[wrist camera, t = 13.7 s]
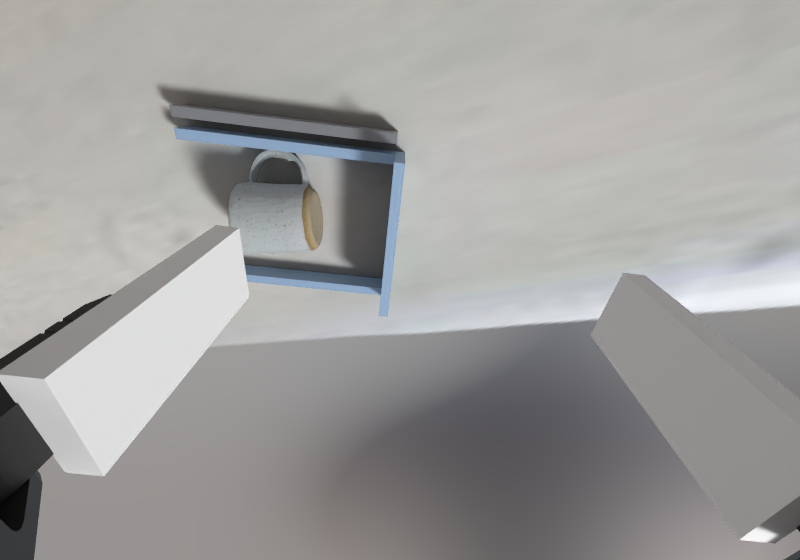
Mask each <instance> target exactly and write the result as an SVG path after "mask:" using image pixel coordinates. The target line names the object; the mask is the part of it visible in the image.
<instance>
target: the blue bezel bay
mask: <svg viewBox="0 0 800 560" xmlns="http://www.w3.org/2000/svg"><path fill="white" fill-rule="evenodd" d="M174 130H175V135H176V139H182V140H191V141H199V142H207V143H216V144H224V145H232V146H241V147H249V148H257V149H266V150H274V151H283V152H291V153H299V154H308V155H316V156H324V157H333V158H341V159H349V160H358V161H366V162H375V163H383V164H391V165H394V168H393V178H392V188H391V199H390V209H389V219H388V229H387V239H386V249H385V259H384V269H383V279H380V278H370V277H361V276H351V275H341V274H332V273H322V272H312V271H303V270H293V269H283V268H273V267H264V266H254V265H245V271H246V278H247V282H256V283H266V284H276V285H286V286H295V287H305V288H315V289H325V290H335V291H345V292H355V293H365V294H375V295H381V300H380V310H379V316H386V317H388V308H389V299H390V291H391V282H392V273H393V265H394V256H395V247H396V239H397V230H398V221H399V212H400V204H401V195H402V186H403V178H404V169H405V152H399V151H391V150H382V149H374V148H366V147H358V146H349V145H341V144H333V143H325V142H317V141H308V140H300V139H292V138H284V137H275V136H267V135H259V134H251V133H243V132H234V131H226V130H218V129H210V128H201V127H193V126H185V127H177V128H174Z"/></svg>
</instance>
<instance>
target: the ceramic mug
mask: <svg viewBox="0 0 800 560" xmlns="http://www.w3.org/2000/svg"><path fill="white" fill-rule="evenodd" d="M271 157H274V158H283V159H287V160H288V161H295V162H296V163H297V165H298V166H299V168H300V171H301V176H302V184H272V183H257V176H258V172H259V169H260V167H261V165H262V164H263V162H264V161H265V160H266V159H268V158H271ZM248 180H249V181H248V182H242V183H238V184H236V185H235V186H234V188H233V189H232V191H231V194H230V198H229V203H228V220H229V226H230V227H235V228H239V230H240V237H241V243H242V250H243V253H244V254H247V255H254V254H273V253H290V252H306V251H311V250H314V249H316V248H318V246H319V245H320V243H321V240H322V234H323V216H322V207H321V202H320V199H319V196H318V194H317V192H316V191H315V190H314V189H313V188H312V187H309V186H308V176H307V172H306V169H305V166H304V165H303V163H302V162H301V160H300V159H299V158H298V157H297V156H295V155H294V154H293V153H291V152H283V151H274V150H265V151H263V152H261V153H260V154H259V155H258V156H257V157H256V158H255V160H254V162H253V164H252V166H251V169H250V173H249V179H248Z"/></svg>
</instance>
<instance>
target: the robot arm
mask: <svg viewBox="0 0 800 560" xmlns="http://www.w3.org/2000/svg"><path fill="white" fill-rule="evenodd" d="M248 298H249V291H248V285H247V278H246V271H245V264H244V257H243V250H242V243H241V237H240V230H239V228H235V227H227V226H218V225H216V226H214V227H213V228H211V229H210V230H208V231H207V232H205V233H204V234H202V235H201V236H199V237H198V238H197V239H195V240H194V241H192V242H191V243H189V244H188V245H186V246H185V247H183V248H182V249H180V250H179V251H177V252H176V253H174V254H173V255H171V256H170V257H168V258H167V259H165V260H164V261H162V262H161V263H159V264H158V265H156V266H155V267H153V268H152V269H150V270H149V271H147V272H146V273H144V274H143V275H141V276H140V277H138V278H137V279H135V280H134V281H132V282H131V283H129V284H128V285H126V286H125V287H123V288H122V289H120V290H119V291H118V292H116V293H115V294H113V295H108V296H105V297H103V298H100V299H98V300H95V301H93V302H90V303H88V304H85V305H83V306H82V307H80V308H79V309H77V310H76V311H74V312H73V313H71V314H69V315H68V316H66V317H65V318H63V321H62V322H57V323H55V324H54V325H52V326H51V327H49V328H48V329H46V330H45V333H44V334H38V335H37V336H35V337H34V338H32V339H31V340H29V341H27V342H26V343H24V344H23V345H21V346H20V347H18V348H17V349H15V350H13V351H12V352H10V353H9V354H7V355H6V356H4V357H3V358H1V359H0V560H34V553H35V544H36V535H37V525H38V517H39V508H40V500H41V491H42V480H41V476H40V473H39V472H38V471H37V470H38V469H39V468H40V467H41V466H42V465H43V464H44V463H45V462H46V461H47V460H48V459H49V458H50V457H51V456H52V455H53V456H54V457H55V459H56V460H57V462H58V463H59V464H60V466H61V467H62V469H63V470H64V471H65V472H66V473H76V474H86V475H96V476H105V474H106V473H107V472H108V471H109V470H110V468H111V467H112V465H113V464H114V463H115V462H116V461H117V460H118V458H119V457H120V456H121V455H122V453H123V452H124V451H125V450H126V448H127V447H128V446H129V445H130V443H131V442H132V441H133V440H134V439H135V437H136V436H137V435H138V434H139V432H140V431H141V430H142V429H143V427H144V426H145V425H146V424H147V423H148V421H149V420H150V419H151V418H152V416H153V415H154V414H155V412H156V411H157V410H158V409H159V408H160V406H161V405H162V404H163V402H164V401H165V400H166V399H167V398H168V396H169V395H170V394H171V393H172V391H173V390H174V389H175V388H176V387H177V385H178V384H179V383H180V382H181V380H182V379H183V378H184V377H185V375H186V374H187V373H188V372H189V371H190V369H191V368H192V367H193V366H194V364H195V363H196V362H197V361H198V359H199V358H200V357H201V356H202V354H203V353H204V352H205V351H206V350H207V348H208V347H209V346H210V345H211V343H212V342H213V341H214V340H215V338H216V337H217V336H218V335H219V333H220V332H221V331H222V330H223V329H224V327H225V326H226V325H227V324H228V322H229V321H230V320H231V319H232V317H233V316H234V315H235V314H236V312H237V311H238V310H239V309H240V307H241V306H242V305H243V304H244V303H245V301H246V300H247V299H248ZM591 336H592V338H593V339H594V340H595V342H596V343H597V344H598V346H599V347H600V349H601V350H602V351H603V353H604V354H605V355H606V357H607V358H608V359H609V361H610V362H611V364H612V365H613V366H614V368H615V369H616V371H617V372H618V373H619V375H620V376H621V378H622V379H623V380H624V381H625V383H626V384H627V386H628V387H629V389H630V390H631V391H632V393H633V394H634V395H635V397H636V398H637V400H638V401H639V402H640V404H641V405H642V406H643V408H644V409H645V411H646V412H647V413H648V415H649V416H650V417H651V419H652V420H653V422H654V423H655V424H656V425H657V427H658V429H659V430H660V431H661V433H662V434H663V435H664V437H665V438H666V439H667V441H668V442H669V444H670V445H671V446H672V448H673V449H674V450H675V452H676V453H677V455H678V456H679V457H680V459H681V460H682V462H683V463H684V464H685V466H686V467H687V468H688V470H689V471H690V472H691V474H692V475H693V477H694V478H695V479H696V481H697V482H698V484H699V485H700V486H701V488H702V489H703V491H704V492H705V493H706V495H707V496H708V497H709V499H710V500H711V501H712V503H713V504H714V506H715V507H716V508H717V510H718V511H719V513H720V514H721V515H722V517H723V518H724V519H725V521H726V522H727V523H728V525H729V526H730V528H731V529H732V530H733V532H734V533H735V535H736V536H737V537H738V539H739V540H746V541H756V542H766V543H776V542H778V541H779V540H780V539H782V538H783V537H785V536H786V535H788V534H789V533H791V532H792V531H794V530H795V529H798V530H799V531H800V399H799V398H798V397H797V396H796V395H794V394H793V393H792V392H791V391H789V390H788V389H787V388H785V387H784V386H783V385H782V384H781V383H779V382H778V381H777V380H776V379H774V378H773V377H772V376H771V375H769V374H768V373H767V372H766V371H764V370H763V369H762V368H760V367H759V366H758V365H757V364H755V363H754V362H753V361H752V360H750V359H749V358H748V357H747V356H745V355H744V354H743V353H741V352H740V351H739V350H738V349H737V348H735V347H734V346H733V345H732V344H730V343H729V342H728V341H726V340H725V339H724V338H723V337H721V336H720V335H719V334H718V333H716V332H715V331H714V330H713V329H711V328H710V327H709V326H708V325H706V324H705V323H704V322H703V321H701V320H700V319H699V318H698V317H696V316H695V315H694V314H693V313H691V312H690V311H689V310H688V309H686V308H685V307H684V306H683V305H681V304H680V303H679V302H678V301H676V300H675V299H674V298H673V297H671V296H670V295H669V294H667V293H666V292H665V291H664V290H662V289H661V288H660V287H659V286H657V285H656V284H655V283H654V282H652V281H651V280H650V279H649V278H647V277H646V276H645V275H636V274H628V273H623V274H622V276H621V278H620V280H619V282H618V284H617V286H616V287H615V289H614V291H613V293H612V295H611V297H610V299H609V301H608V303H607V305H606V307H605V309H604V311H603V313H602V314H601V316H600V318H599V320H598V322H597V324H596V326H595V328H594V330H593V332H592V334H591ZM785 560H800V550H799V551H798V552H796V553H794V554H793V555H791V556H789V557H788V558H786V559H785Z"/></svg>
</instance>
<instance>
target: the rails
mask: <svg viewBox="0 0 800 560" xmlns="http://www.w3.org/2000/svg"><path fill="white" fill-rule="evenodd" d="M169 106H170V111H171V115H172V117H178V118H187V119H195V120H203V121H211V122H219V123H227V124H235V125H244V126H252V127H260V128H268V129H276V130H284V131H293V132H301V133H309V134H317V135H325V136H333V137H342V138H350V139H358V140H366V141H374V142H382V143H391V144H396V143H397V134H398V131H393V130H385V129H377V128H369V127H361V126H353V125H345V124H337V123H329V122H321V121H313V120H305V119H296V118H288V117H280V116H272V115H264V114H256V113H248V112H240V111H232V110H224V109H216V108H208V107H200V106H192V105H169Z"/></svg>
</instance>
